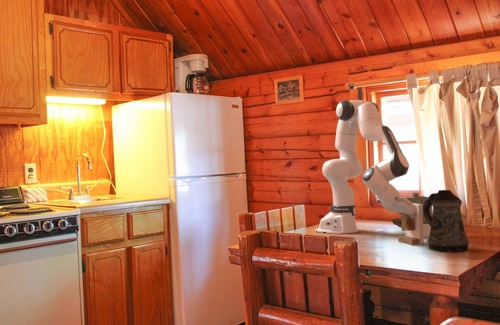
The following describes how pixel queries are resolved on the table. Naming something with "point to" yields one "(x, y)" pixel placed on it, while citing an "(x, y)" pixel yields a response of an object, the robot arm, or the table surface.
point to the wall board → (415, 235)
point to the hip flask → (418, 201)
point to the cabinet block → (407, 222)
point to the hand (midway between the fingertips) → (409, 216)
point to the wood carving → (425, 224)
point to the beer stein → (445, 223)
